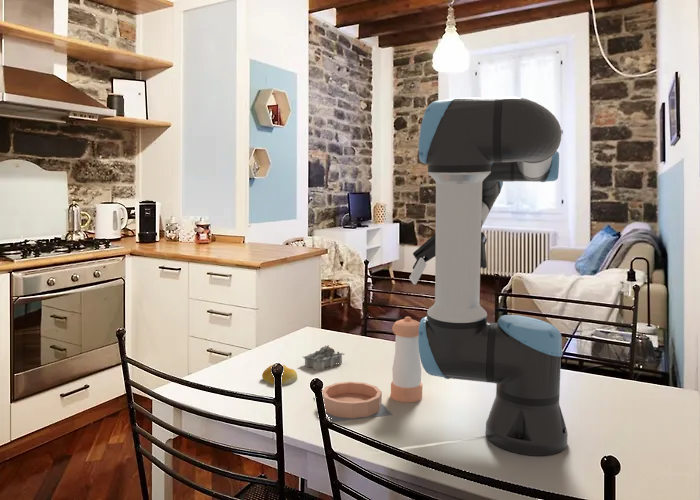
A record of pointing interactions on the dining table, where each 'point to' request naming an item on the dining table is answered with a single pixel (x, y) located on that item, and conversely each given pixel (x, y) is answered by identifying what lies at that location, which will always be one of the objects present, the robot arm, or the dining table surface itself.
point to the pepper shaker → (406, 362)
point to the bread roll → (287, 377)
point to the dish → (352, 399)
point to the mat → (382, 412)
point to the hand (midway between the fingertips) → (435, 284)
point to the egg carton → (323, 358)
